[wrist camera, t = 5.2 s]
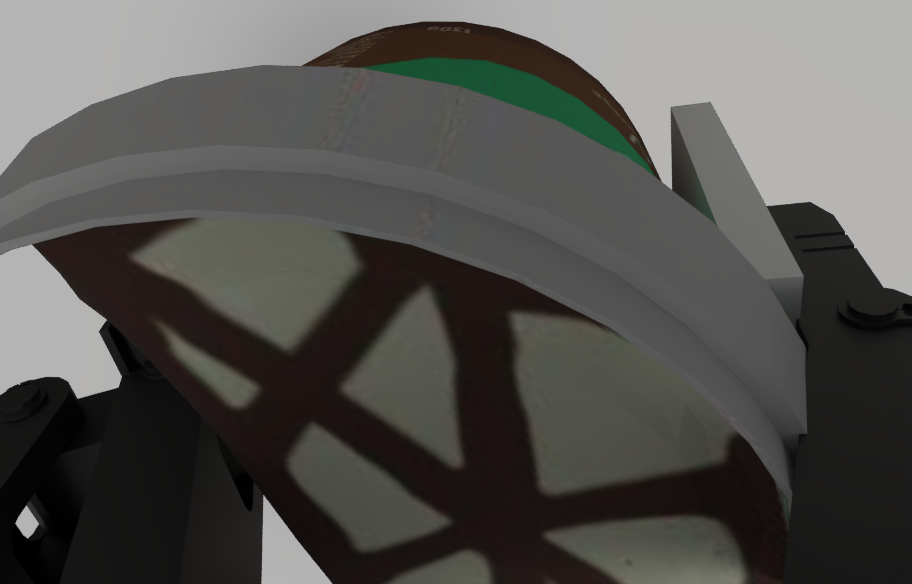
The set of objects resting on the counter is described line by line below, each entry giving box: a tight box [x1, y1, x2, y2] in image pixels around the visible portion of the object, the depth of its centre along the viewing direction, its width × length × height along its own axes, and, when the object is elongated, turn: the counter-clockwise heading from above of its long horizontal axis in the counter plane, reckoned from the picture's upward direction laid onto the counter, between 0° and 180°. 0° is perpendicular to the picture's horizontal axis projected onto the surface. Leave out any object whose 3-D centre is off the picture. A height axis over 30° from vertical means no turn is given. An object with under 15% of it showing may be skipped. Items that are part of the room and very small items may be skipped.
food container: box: [0, 22, 808, 584], centre depth 12 cm, size 12×6×10 cm, turn 31°
